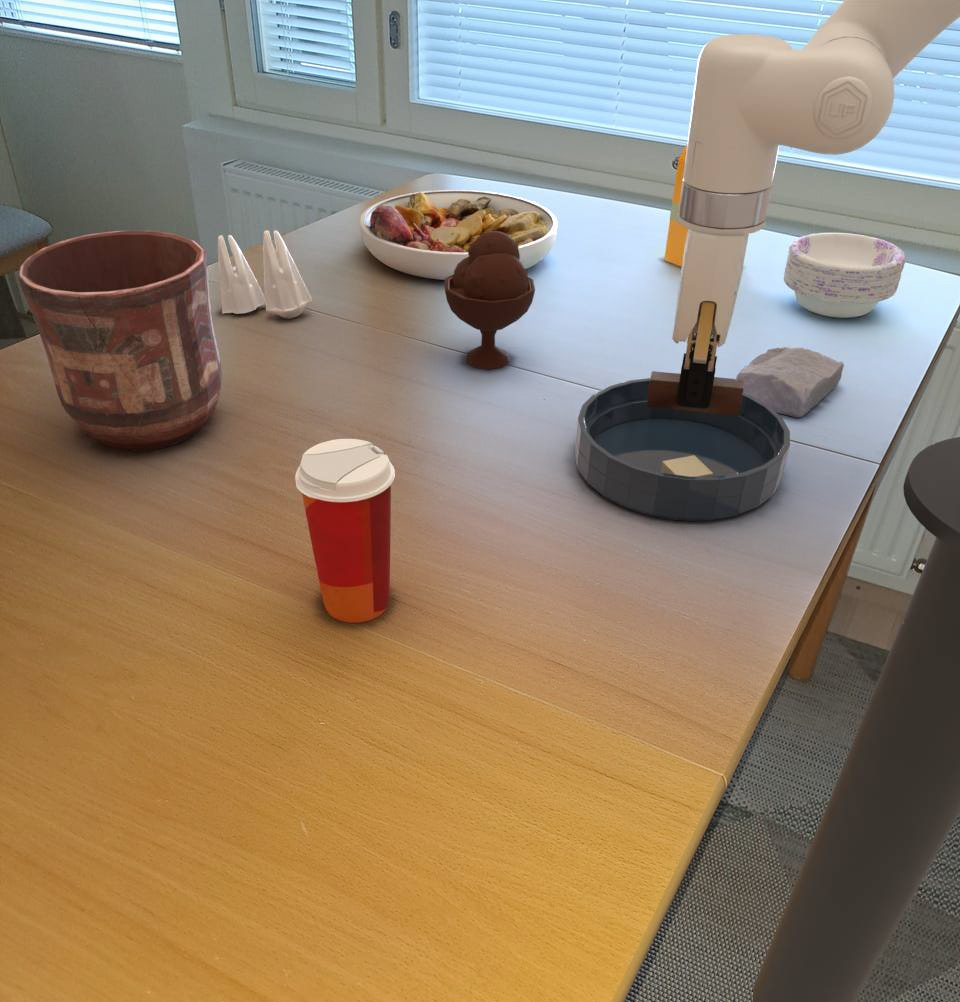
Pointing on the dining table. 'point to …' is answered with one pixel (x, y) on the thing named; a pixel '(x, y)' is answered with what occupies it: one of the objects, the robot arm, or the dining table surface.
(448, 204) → the bowl
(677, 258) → the orange juice
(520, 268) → the ice cream bowl
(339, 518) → the paper cup
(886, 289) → the paper bowls
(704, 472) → the block
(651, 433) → the bowl
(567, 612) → the dining table surface
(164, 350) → the pottery
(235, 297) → the shaker set
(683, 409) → the brown wooden stick
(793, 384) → the stone block
